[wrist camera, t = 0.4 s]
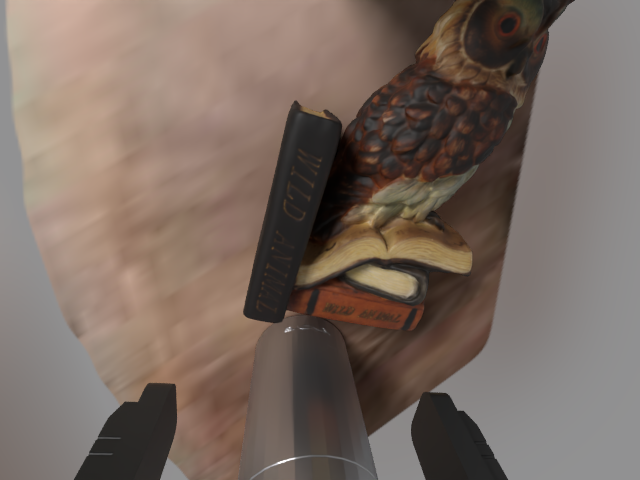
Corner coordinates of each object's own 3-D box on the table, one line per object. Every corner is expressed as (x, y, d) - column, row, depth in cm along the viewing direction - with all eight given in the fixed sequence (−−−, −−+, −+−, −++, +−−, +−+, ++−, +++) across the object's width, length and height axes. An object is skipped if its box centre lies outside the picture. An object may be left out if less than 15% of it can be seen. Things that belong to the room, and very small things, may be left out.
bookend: (235, 329, 22) (352, -218, 11) (258, 250, 32) (332, -86, 21) (438, 367, 24) (697, -62, 14) (401, 282, 34) (535, -8, 23)
